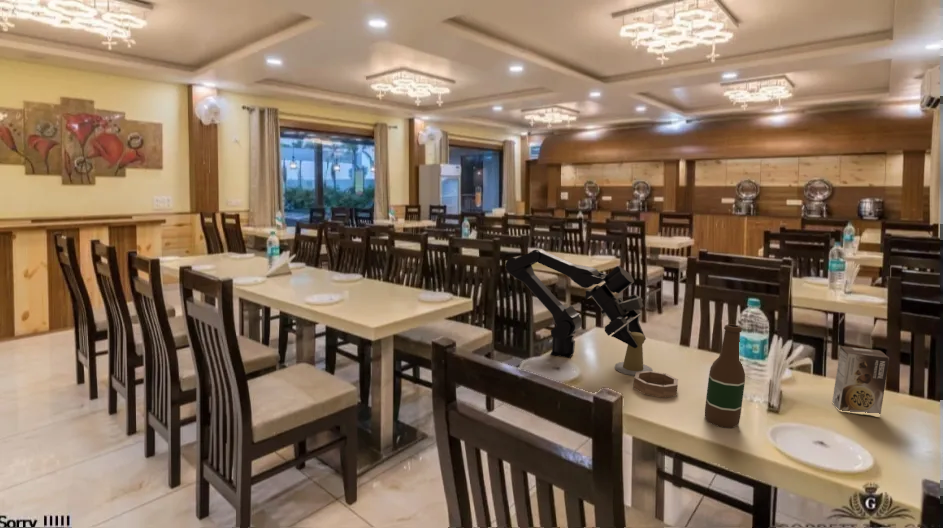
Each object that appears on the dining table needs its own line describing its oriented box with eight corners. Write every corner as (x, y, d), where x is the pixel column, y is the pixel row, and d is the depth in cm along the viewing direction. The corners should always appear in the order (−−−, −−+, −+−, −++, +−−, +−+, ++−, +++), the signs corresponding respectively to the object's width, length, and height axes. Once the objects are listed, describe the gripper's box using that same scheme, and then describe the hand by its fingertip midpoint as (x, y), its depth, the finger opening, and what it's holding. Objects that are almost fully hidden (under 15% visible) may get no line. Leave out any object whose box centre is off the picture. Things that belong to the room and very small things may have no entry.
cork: (647, 370, 158) (651, 335, 157) (630, 371, 157) (633, 336, 155) (635, 363, 164) (638, 329, 162) (618, 364, 162) (621, 330, 161)
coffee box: (870, 408, 139) (881, 350, 136) (880, 418, 133) (891, 357, 130) (830, 402, 141) (839, 345, 139) (838, 412, 135) (848, 352, 133)
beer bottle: (737, 432, 122) (750, 332, 118) (701, 422, 126) (712, 326, 122) (740, 419, 128) (753, 325, 125) (706, 411, 132) (717, 319, 129)
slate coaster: (612, 372, 157) (612, 370, 157) (617, 361, 167) (617, 359, 167) (651, 378, 153) (651, 376, 153) (653, 367, 163) (653, 365, 163)
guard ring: (632, 392, 143) (633, 381, 142) (636, 378, 153) (636, 368, 153) (676, 400, 139) (677, 389, 138) (677, 385, 149) (678, 375, 148)
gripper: (618, 291, 151) (654, 336, 147) (636, 282, 166) (669, 322, 162) (590, 313, 156) (623, 357, 152) (609, 302, 172) (640, 341, 168)
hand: (640, 343), depth 158 cm, fingers open, 9 cm apart
